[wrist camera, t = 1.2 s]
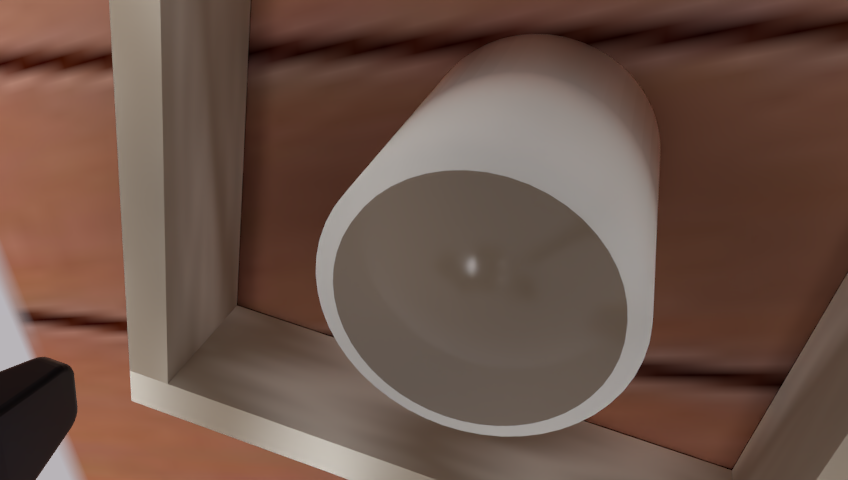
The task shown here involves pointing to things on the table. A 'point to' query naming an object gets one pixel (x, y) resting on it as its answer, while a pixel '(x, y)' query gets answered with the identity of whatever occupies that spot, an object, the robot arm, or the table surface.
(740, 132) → the table surface
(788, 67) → the table surface
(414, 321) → the pot
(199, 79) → the beige square frame
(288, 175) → the table surface
